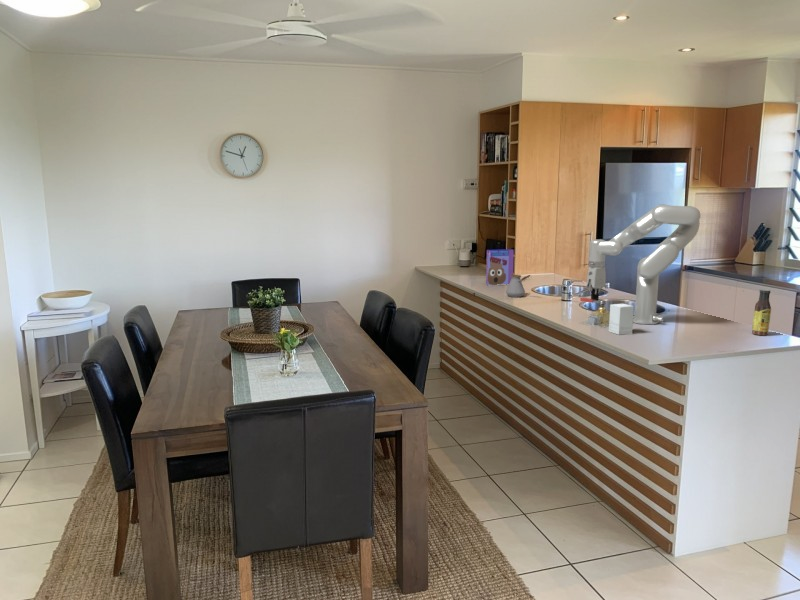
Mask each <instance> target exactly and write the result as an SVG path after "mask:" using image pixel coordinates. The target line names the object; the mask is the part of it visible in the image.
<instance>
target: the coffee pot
mask: <svg viewBox="0 0 800 600" xmlns="http://www.w3.org/2000/svg"><path fill="white" fill-rule="evenodd" d="M521 277H522V275H521V274H513V275H511V278H512V279H511V281H510V283H509V285H507V287H506V290H505V293H506V295H507V296H508V297H510V298H522V297H523V296H524V295H525V294H526V291H525V288H524V286H523V283H522V281H523V280H525V279H527V278H528V279H532V277H533V276H532V275H531V274H529V275H526V276H524V277H522V278H521Z"/></svg>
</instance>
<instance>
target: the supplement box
mask: <svg viewBox="0 0 800 600" xmlns="http://www.w3.org/2000/svg"><path fill="white" fill-rule="evenodd" d="M634 309H635V306H634V305H631V304H626V303H614V304H609V311H610V318H609V326H608V332H610V333H613V334H615V335H619V336H620V335H632V334H633V323H634V322H633V318H634Z"/></svg>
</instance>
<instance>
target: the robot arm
mask: <svg viewBox="0 0 800 600" xmlns="http://www.w3.org/2000/svg"><path fill="white" fill-rule="evenodd" d="M700 219H701V212H700V210H699V209H698V208H697V207H696V206H691V205H685V206H684V205H671V204H669V205H668V204H664V203H663V204H658V205H656V206H655V207H653V208H652V209H650V210H649V211H648V212H645V214H643V215H642V216H640V217H639V218H638V219H637V220H635V221H633V222H632V223H631V224H630V225H628V226H627V227H626V228H625V229H624V230H622V231H620V232H619V233H617V235H615V236H613V237H612V238H611V239H609V240H604V239H591V240H590V241H589V251H588V271H587V275H586V287H587V291H589V292H590V299H595V300H600V299H599V295H600V291H601V290H602V289H603V288H605V287H606V284H607V282H606V274H607V273H606V267H605V266H606V265H605V264H606V263H605V261H606V256H607V255H608V256H613V257H614V256H618V255H620V254H621V252H622V251H623V250H625V249H626V248H627V247H628V246H630V245H632V244H633V243H635V242H637V241H638V240H641V239H644V238H645V237H646V236H648V235H650V234H651V233H652V232H654V231H655V230H656V229H658V228H659V227H661V226H662V225H663V224H665V225H674V226H675V225H677V228H675V230H674V231H673V232H672V233H670V235H669V236H667V237H666V238H665V239H664V240H663V241H662V242H660V243H659V244H658V245H657V246H656V249H654V250H653V251H652V252H651V253H650V254H649V255H648V256H645V257H643V258H641V259H640V260H639V261H638V263H637V270H636V271H637V273H636V289H635V290H636V291H635V302H634V303H635V306H634V316H633V323H635V324H637V325H638V324H640V325H657V324H659V323H660V322H664V317H663V316H660V315H659V313H657V305H658V292H659V278H660V275H661V274H662V273H663V272H664V271H665V270H666V269H667V268H669V267H670V266H671V265H672V264H673V263H674V262H675V261H676V260H677V259H678V258H679V255H680V252H681V251H682V250H683V249H685V248H686V246H687V245H689V244H690V243H691V242H692V241H693V240H694V238H695V237H696V236H697V234H698V232H699V228H700V224H701V223H700Z"/></svg>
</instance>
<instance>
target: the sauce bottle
mask: <svg viewBox="0 0 800 600" xmlns="http://www.w3.org/2000/svg"><path fill="white" fill-rule="evenodd" d="M770 294H771V290H770V289H759V296H758V297H759V298H758V301H757V302H756V303H755V306H754V311H753V319H752V326H751V331H752V332H751V334H752V335H756V336H767V335H768V334H769V328H770V323H771V322H770V321H771V313H772V308H771V307H772V306H771V302H770Z"/></svg>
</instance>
